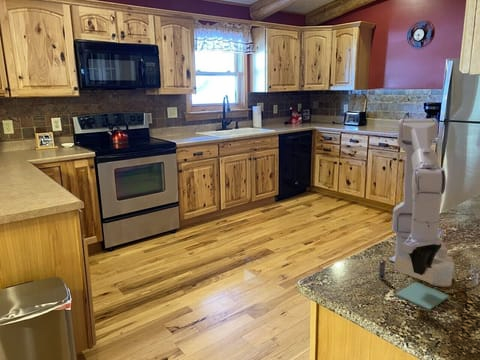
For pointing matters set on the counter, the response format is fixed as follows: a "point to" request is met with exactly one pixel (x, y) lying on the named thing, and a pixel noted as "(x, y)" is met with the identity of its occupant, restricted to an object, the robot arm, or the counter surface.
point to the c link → (431, 274)
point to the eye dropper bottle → (443, 255)
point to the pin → (382, 268)
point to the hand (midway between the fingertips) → (421, 271)
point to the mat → (422, 295)
